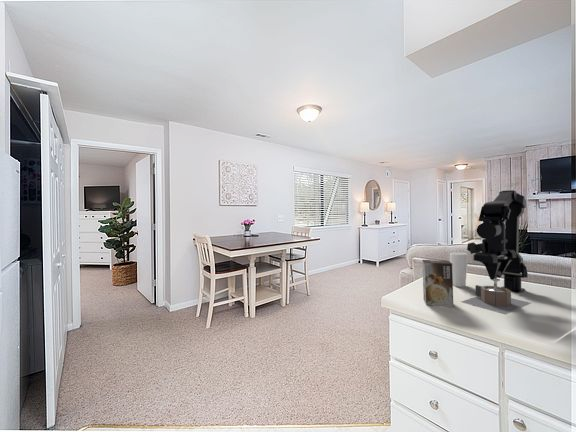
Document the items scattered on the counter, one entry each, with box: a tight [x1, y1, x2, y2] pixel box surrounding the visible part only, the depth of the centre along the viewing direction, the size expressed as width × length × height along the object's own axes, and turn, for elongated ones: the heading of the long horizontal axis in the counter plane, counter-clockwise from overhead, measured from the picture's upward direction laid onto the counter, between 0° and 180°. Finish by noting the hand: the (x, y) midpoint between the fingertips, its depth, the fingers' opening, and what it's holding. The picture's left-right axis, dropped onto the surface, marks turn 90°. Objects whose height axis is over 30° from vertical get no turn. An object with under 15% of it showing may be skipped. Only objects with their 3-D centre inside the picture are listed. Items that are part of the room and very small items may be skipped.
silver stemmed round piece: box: [487, 271, 505, 292], centre depth 97 cm, size 5×5×8 cm
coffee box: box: [422, 259, 454, 308], centre depth 98 cm, size 9×6×16 cm
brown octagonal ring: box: [475, 284, 512, 307], centre depth 98 cm, size 8×11×5 cm
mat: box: [460, 295, 531, 315], centre depth 97 cm, size 20×14×1 cm
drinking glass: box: [449, 251, 468, 288], centre depth 119 cm, size 7×7×15 cm
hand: (495, 278), depth 97 cm, fingers open, 5 cm apart
